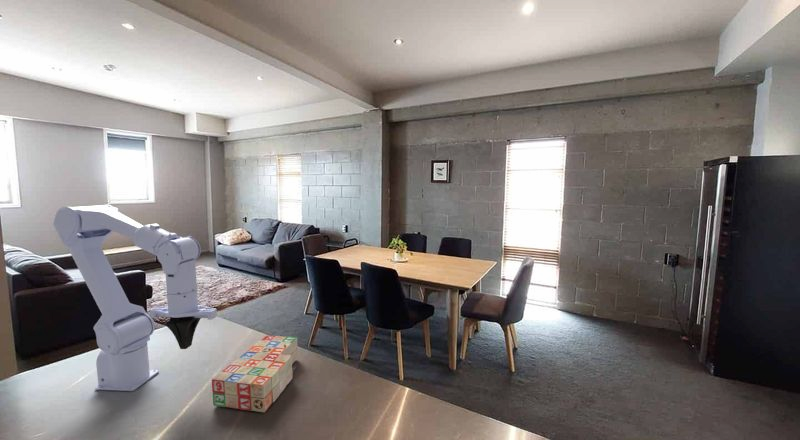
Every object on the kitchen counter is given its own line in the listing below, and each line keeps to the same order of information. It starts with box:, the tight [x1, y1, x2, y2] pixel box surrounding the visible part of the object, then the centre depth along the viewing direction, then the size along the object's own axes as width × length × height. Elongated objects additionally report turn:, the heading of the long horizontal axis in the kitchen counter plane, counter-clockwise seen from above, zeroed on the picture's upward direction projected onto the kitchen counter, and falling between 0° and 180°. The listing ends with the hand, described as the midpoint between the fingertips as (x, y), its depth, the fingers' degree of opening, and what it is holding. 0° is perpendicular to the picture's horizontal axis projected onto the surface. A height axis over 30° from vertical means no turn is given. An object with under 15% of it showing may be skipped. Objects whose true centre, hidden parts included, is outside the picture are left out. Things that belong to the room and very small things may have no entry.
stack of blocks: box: [211, 335, 299, 413], centre depth 79 cm, size 21×6×12 cm
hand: (186, 347), depth 76 cm, fingers closed
